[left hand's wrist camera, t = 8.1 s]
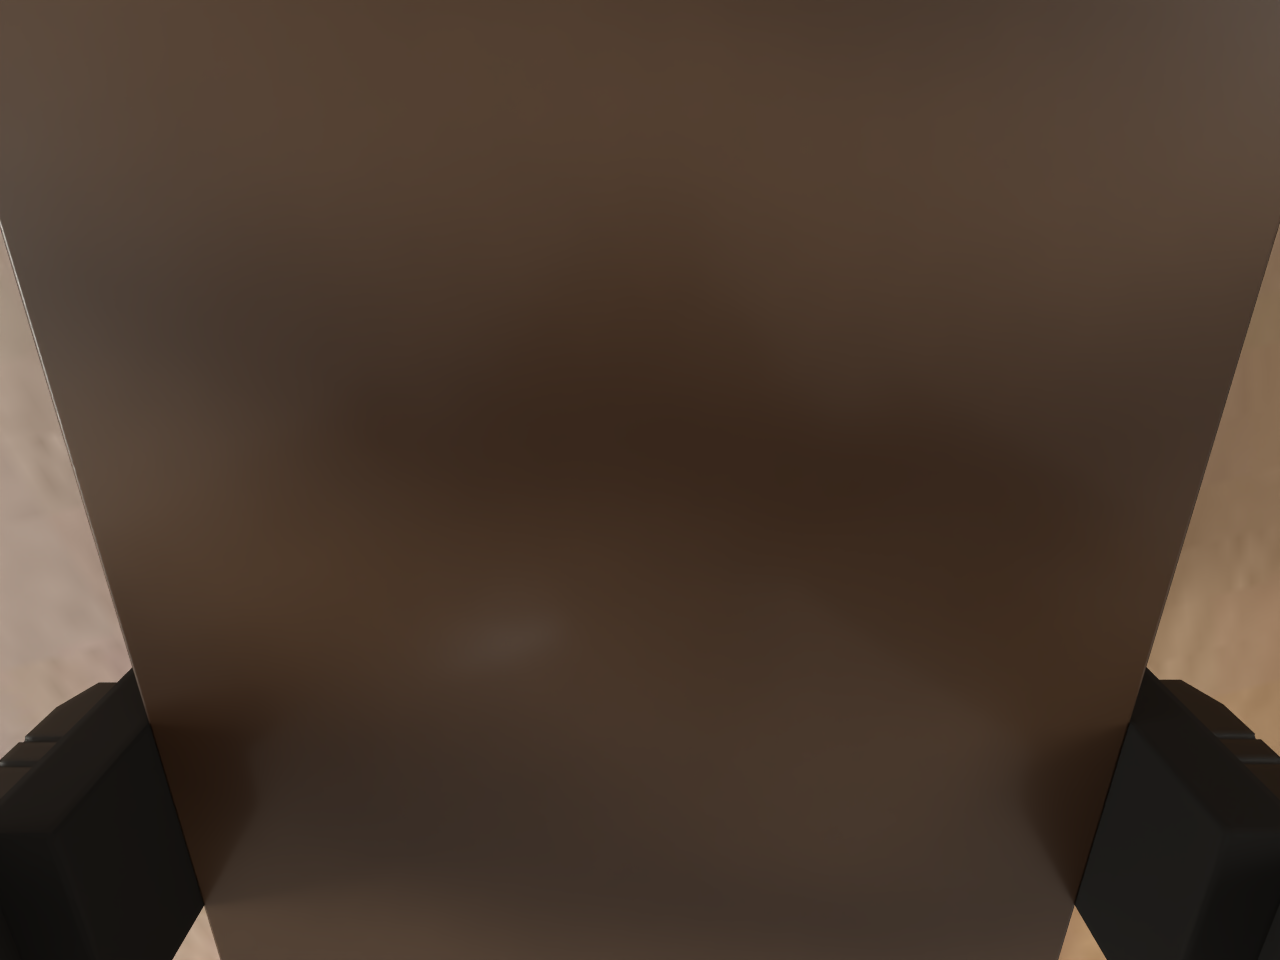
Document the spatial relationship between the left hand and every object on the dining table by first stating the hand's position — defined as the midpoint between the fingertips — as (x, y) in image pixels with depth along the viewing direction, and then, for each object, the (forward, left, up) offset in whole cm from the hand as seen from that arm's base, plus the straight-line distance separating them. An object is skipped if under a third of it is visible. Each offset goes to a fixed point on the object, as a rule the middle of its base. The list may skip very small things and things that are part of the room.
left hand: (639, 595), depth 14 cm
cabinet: (+5, +1, -5) cm, 7 cm away
